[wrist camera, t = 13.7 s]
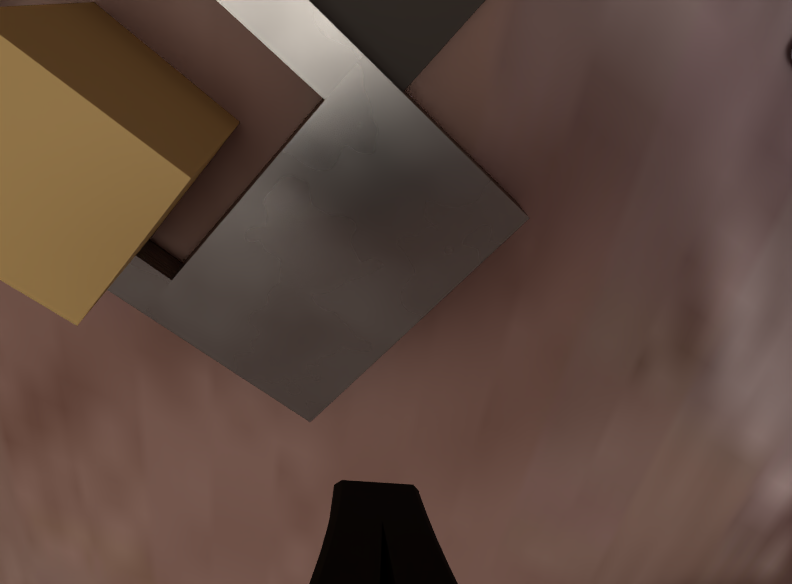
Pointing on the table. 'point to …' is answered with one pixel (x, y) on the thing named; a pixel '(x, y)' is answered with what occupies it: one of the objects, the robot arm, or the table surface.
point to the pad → (400, 30)
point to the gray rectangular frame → (328, 228)
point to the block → (90, 150)
